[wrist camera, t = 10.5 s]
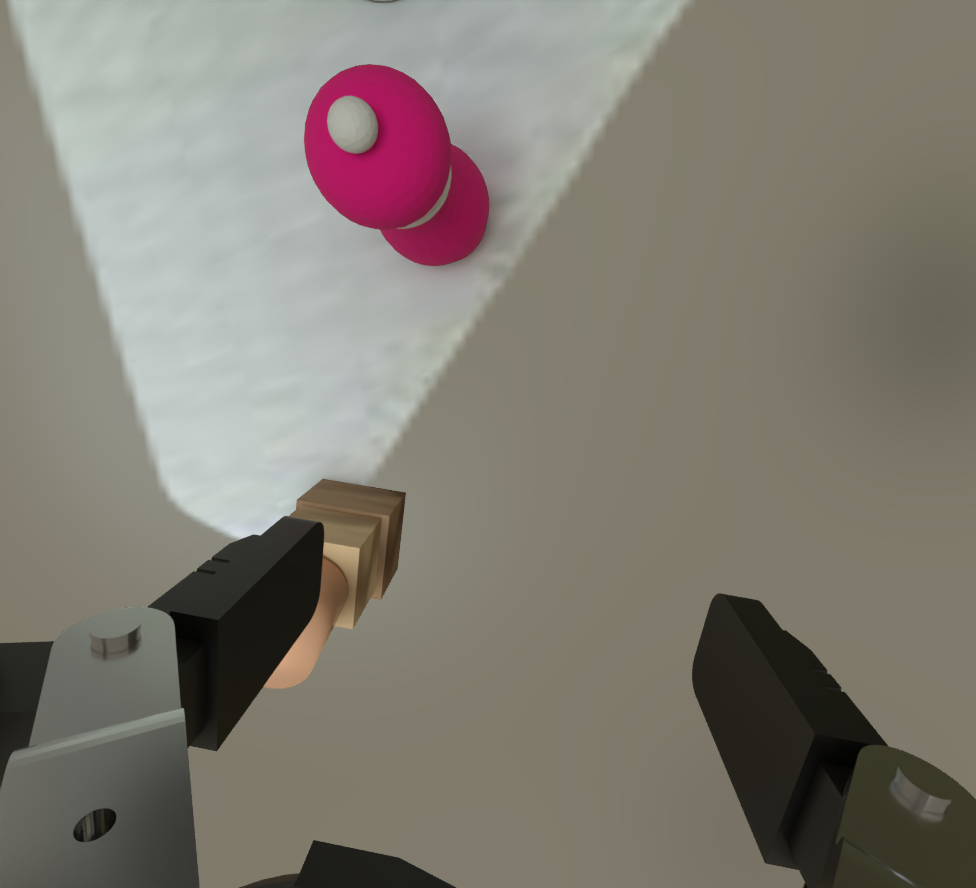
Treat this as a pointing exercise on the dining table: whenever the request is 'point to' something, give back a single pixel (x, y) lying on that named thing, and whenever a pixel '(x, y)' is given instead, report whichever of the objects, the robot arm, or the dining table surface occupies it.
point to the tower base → (368, 504)
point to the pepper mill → (395, 165)
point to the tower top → (349, 554)
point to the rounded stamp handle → (313, 631)
